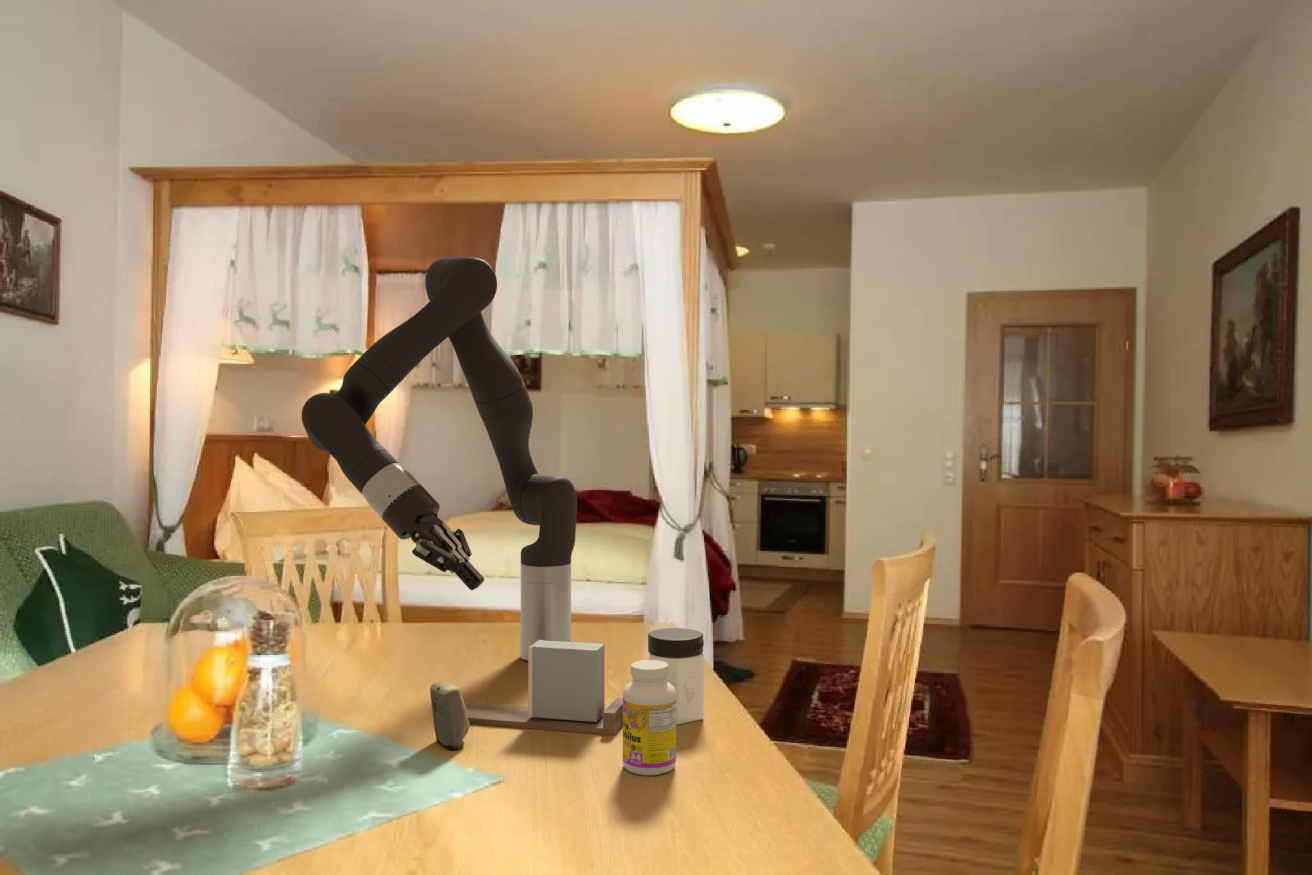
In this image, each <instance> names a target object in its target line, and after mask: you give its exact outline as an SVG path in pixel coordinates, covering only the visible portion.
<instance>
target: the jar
mask: <svg viewBox="0 0 1312 875" xmlns="http://www.w3.org/2000/svg"><path fill="white" fill-rule="evenodd" d="M704 644H705V642H704V634H703V633H702V632H701V631H700V630H696V629H691V628H683V627H681V628H680V627H668V628H667V627H666V628H660V629H654V630H651V631H650V632H649V633H648V634H647V660H658V661H663V662H666V663H667V664H668V667H669V674H668V677H667V682H668V683H670V684H671V685H673V687H674V688H675V690H676V726H678V725H682V724H683V725H684V724H688V723H692V722H697V721H701V720H704V713H705V712H704V711H705V710H704V706H705V705H704V703H705V702H704V700H705V699H704V695H705V694H704V693H705V692H704V691H705V690H704V685H705V684H704V681H705V679H704V678H705V676H704V675H705V672H704V671H705V669H704V668H705V664H704V662H705V657H704V653H703V652H704Z"/></svg>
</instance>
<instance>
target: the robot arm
mask: <svg viewBox="0 0 1312 875" xmlns="http://www.w3.org/2000/svg"><path fill="white" fill-rule="evenodd" d="M424 280H425V281H424V283H425V290H426V295H427V298H428V300H429V301H428V302H427V303H426V305H424V306H423V307H422V308H421V309H420V310H419V311H418V312H417V313H415V314H414V315H412V316H410V318H408V319H407V320H405V321H404V322H403V323H401V324H399V325H398V326H396V327H395V328H393V329H391V330H390V331H388V332H387V333H385V334H384V335H383V336H382V337H381V338H379V339H377V341H375V342H374V343H373V344H371V346H370V347H368V349H367V350H365V352H364V353H363V354H361V356H359V357H358V359H357V360H356V361H354V362H353V364H352V365H351V366H350V367H349V368H348V369H347V370H346V372H345V373H344V374H343V375H344V376H343V378H342V383H341V387H340V389H339V390H338V391H337V392H336V393H335V394H334V393H330V392H320V393H317V394H315V395H312V396H311V397H309V398H308V399H307V400H306V402H304V404H303V407H302V410H301V422H302V425H303V428H304V430H305V432H306V435H307V437H308V440H309V441H310V443H311V444H312V445H313V446H314V447H315V448H317V449H318V450H320V451H322V452H327V453H329V455H331V457H333V459H334V460H335V461H336V463H337V464H338V466H339V469H340V470H341V472H342V473H343V474H344V476H345V477H346V479H347V480H348V481H349V482H350V483H351V484H352V485H353V486H354V488H356V490H357V491H358V492H359V493H360V494H361V495H362V497H363V498H364V499H365V500H366V502H367V504H368V505H369V507H371V509H372V510H373V511H374V512H375V513H376V515H377V516H379V518H381V520H382V521H383V522H384V524H386V525H387V526H388V528H390V529H391V531H392V532H393V533H394V534H395V535H396V536H397V538H399V539H400V540H407V539H408V540H409V539H411V541H412V542H413V543H414V544H415V547H414V548H413V549H412V550H411V552H412V555H414V556H415V557H417V558H418V559H420V560H422V561H424V562H425V563H427V564H429V565H430V566H432V567H434V568H435V569H437V570H438V571H439V570H440V571H441V572H443V573H446V572H447V571H449V572H450V573H451V574H455V575H456V576H457V577H458V579H460V581H461V582H462V583H463V584H464V586H466V587H467V588H468V590H470V591H474V590H476V589H478V588H479V587H480V586H481V585H482V584H483V583H484V582H485V577H484V576H483V575H482V574H481V573H480V572H479V571H478V570H477V569H476V567H474V565H473V564H472V563H471V562H470V557H471V556H472V554H473V552H472V551H471V549H470V546H469V543H468V541H467V539H466V537H465V533H464V531H463V530H461V529H460V528H457V529H456V530H455V531H453V530H452V529H451V528H450V526H449V525H448V524H446V522H445V521H442V520H441V519H440V518H439V517H438V513H439V511H440V503H439V502H438V501H437V500H436V499H435V498H434V497H433V496H432V495H431V494H430V492H428V490H427V489H426V488H425V487H424V486H423V485H422V484H421V483H420V482H419V481H418V480H417V478H416V477H415V476H414V475H413V474H412V473H411V472H410V471H409V470H407V469H406V468H405V467H404V466H402V464H400V463H399V462H398V461H397V459H396V458H394V456H393V455H392V454H391V453H390V452H389V451H388V450H387V449H386V448H385V447H384V446H383V445H382V444H381V443H380V442H379V441H378V440H377V439H376V438H375V436H374V435H373V434H372V432H371V431H370V430H369V428H368V427H367V423H368V422H369V421H370V419H371V418H372V416H373V415H374V413H375V411H376V410H377V408H378V407H379V405H380V404H381V403H382V402H383V401H384V400H385V399H386V398H387V397H389V395H390V394H391V393H392V391H394V390H395V388H397V386H398V385H399V384H400V383H401V382H403V380H405V378H406V377H407V376H408V375H409V374H410V373H411V372H412V370H413V369H415V368H416V367H417V365H419V364H420V363H421V362H422V361H423V360H424V359H425V358H426V357H427V356H428V355H429V354H430V353H431V352H432V351H433V350H435V349H436V348H437V347H439V345H440V344H442V343H443V342H444V341H445V340H447V339H449V341H450V343H451V345H452V347H453V350H454V352H455V355H456V357H457V360H458V362H459V366H460V368H461V369H462V372H463V375H464V378H465V380H466V381H467V384H468V387H469V389H470V393H471V396H472V398H473V401H474V404H475V406H476V409H477V411H478V414H479V416H480V418H481V420H482V422H483V425H484V428H485V431H486V432H487V435H488V437H489V440H490V443H491V445H492V446H491V447H492V449H493V451H494V454H495V457H496V459H497V462H498V465H499V468H500V471H501V475H502V478H503V483H504V487H505V490H506V493H507V497H508V500H509V503H510V506H511V507H510V508H511V509H512V511H513V513H514V515H515V517H517V519H518V520H519V521H520V522H522V523H524V524H527V525H530V526H531V525H533V526H539V531H538V538H537V539H536V540H535V541H534V542H533V543H531V544H528V545H525V546H524V547H522V548H521V550H520V641H519V642H520V647H519V648H520V650H519V651H520V654H519V655H520V659H521V660H524V661H526V662H528V647H529V646H531V645H532V644H534V643H535V642H537V641H538V640H544V641H561V642H572V556H573V555H572V554H573V551H574V549H575V544H576V531H577V529H576V528H577V517H578V516H577V514H578V512H577V511H578V498H577V492H576V489H575V486H574V484H573V483H572V481H571V480H570V479H569V478H567V477H565V476H561V475H560V476H559V475H541V474H539V472H538V470H537V468H536V466H535V463H534V460H533V458H532V456H531V451H530V445H529V441H530V440H529V439H530V434H531V430H532V424H533V418H534V417H533V416H534V406H533V403H532V399H531V396H530V394H529V390H528V388H527V386H526V383H525V381H524V378H523V376H522V374H521V372H520V371H519V369H518V367H517V366H516V364H515V363H514V361H513V360H512V359H511V357H510V356H509V355H508V353H506V351H505V350H504V349H503V347H502V346H501V345H500V344H499V343H498V341H497V340H496V339H495V337H494V336H493V335H492V333H491V331H490V330H489V328H488V326H487V324H486V322H485V319H484V316H483V314H482V312H483V310H484V311H485V309H486V308H487V307H489V305H491V303H492V302H493V301H494V299H495V296H496V294H497V290H498V278H497V275H496V272H495V270H494V269H493V267H492V266H491V265H490V263H488V262H487V261H486V260H484V259H481V258H479V257H474V256H452V257H442V258H439V259H437V260H435V261H433V262H432V263H431V265H429V267H428V269H427V271H426V274H425V278H424Z"/></svg>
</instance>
